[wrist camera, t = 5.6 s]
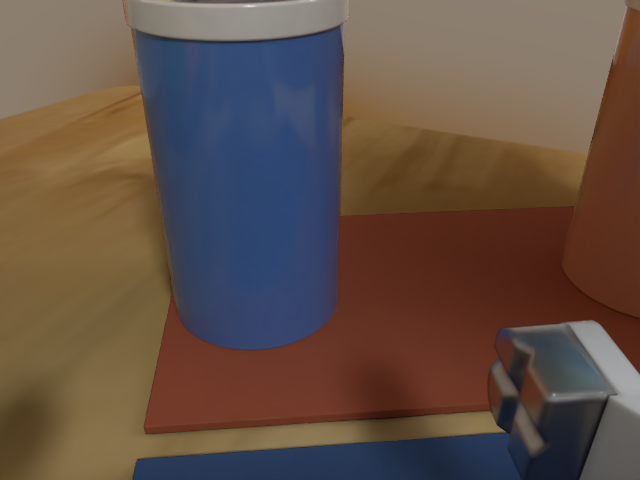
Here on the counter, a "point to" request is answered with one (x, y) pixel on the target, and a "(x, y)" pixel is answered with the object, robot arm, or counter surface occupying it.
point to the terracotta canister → (612, 187)
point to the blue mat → (348, 462)
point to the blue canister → (246, 160)
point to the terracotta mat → (391, 326)
